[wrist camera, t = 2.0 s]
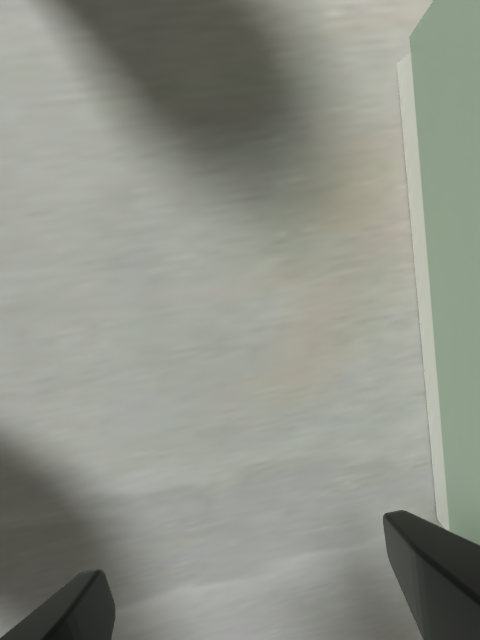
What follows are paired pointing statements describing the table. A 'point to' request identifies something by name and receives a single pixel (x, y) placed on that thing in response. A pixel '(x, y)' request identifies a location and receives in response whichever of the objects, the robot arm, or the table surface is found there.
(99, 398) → the table surface
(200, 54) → the table surface
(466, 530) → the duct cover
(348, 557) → the table surface
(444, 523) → the cable duct
